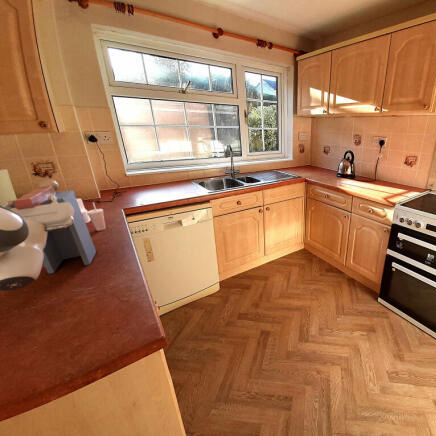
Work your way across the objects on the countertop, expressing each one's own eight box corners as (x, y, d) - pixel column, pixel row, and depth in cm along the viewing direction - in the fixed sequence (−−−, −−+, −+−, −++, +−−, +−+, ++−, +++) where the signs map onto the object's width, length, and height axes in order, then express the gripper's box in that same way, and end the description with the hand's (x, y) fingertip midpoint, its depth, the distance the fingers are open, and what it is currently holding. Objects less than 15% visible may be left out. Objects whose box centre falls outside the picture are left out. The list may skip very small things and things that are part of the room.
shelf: (89, 265, 90) (63, 198, 81) (47, 274, 85) (13, 204, 76) (96, 251, 100) (73, 190, 91) (59, 258, 95) (30, 195, 86)
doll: (37, 208, 72) (30, 191, 70) (15, 211, 70) (6, 194, 68) (63, 190, 91) (57, 177, 89) (45, 192, 89) (39, 178, 87)
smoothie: (111, 228, 122) (102, 201, 117) (96, 232, 117) (86, 205, 112) (105, 225, 126) (96, 199, 120) (91, 230, 121) (81, 203, 116)
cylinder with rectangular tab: (81, 225, 127) (73, 203, 122) (64, 226, 127) (55, 204, 122) (94, 219, 135) (87, 198, 130) (78, 219, 135) (70, 198, 130)
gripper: (67, 220, 70) (70, 187, 77) (-37, 235, 61) (-22, 197, 68) (76, 233, 74) (79, 201, 81) (-18, 249, 66) (-6, 212, 73)
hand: (32, 199), depth 75 cm, fingers open, 8 cm apart
